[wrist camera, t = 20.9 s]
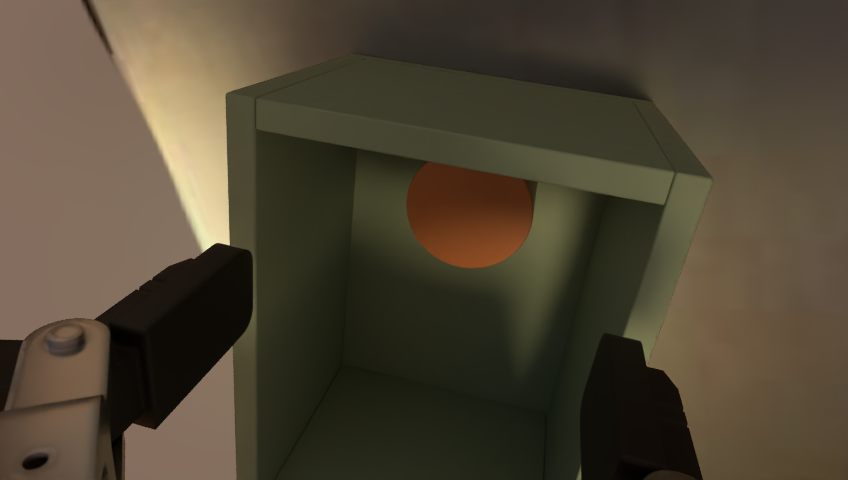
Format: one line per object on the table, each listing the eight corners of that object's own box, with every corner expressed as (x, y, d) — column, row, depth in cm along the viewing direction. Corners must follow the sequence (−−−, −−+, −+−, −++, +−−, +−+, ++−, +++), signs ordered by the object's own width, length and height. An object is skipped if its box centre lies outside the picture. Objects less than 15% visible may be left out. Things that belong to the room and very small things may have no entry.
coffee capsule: (439, 110, 24) (413, 137, 20) (549, 129, 23) (545, 161, 19) (426, 210, 26) (399, 254, 22) (527, 230, 25) (519, 280, 21)
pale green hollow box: (351, 53, 25) (224, 92, 15) (653, 101, 23) (714, 178, 14) (331, 363, 32) (236, 517, 23) (560, 419, 30) (559, 612, 21)
